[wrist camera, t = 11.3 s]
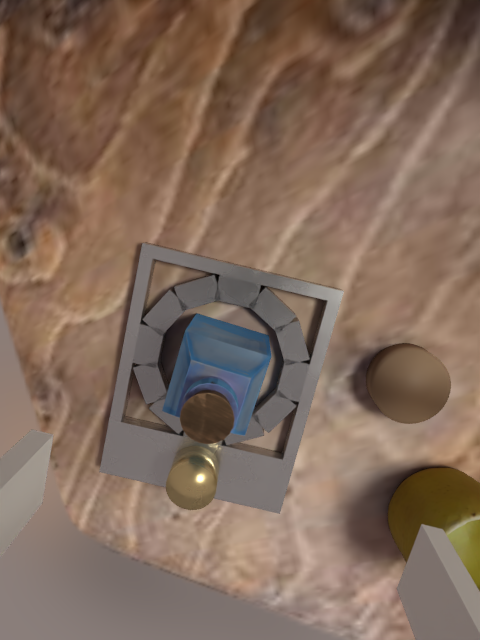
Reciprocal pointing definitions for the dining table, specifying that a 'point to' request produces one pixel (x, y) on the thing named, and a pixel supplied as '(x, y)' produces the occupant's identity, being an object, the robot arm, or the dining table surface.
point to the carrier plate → (293, 385)
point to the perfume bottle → (217, 379)
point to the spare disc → (408, 383)
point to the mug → (439, 513)
